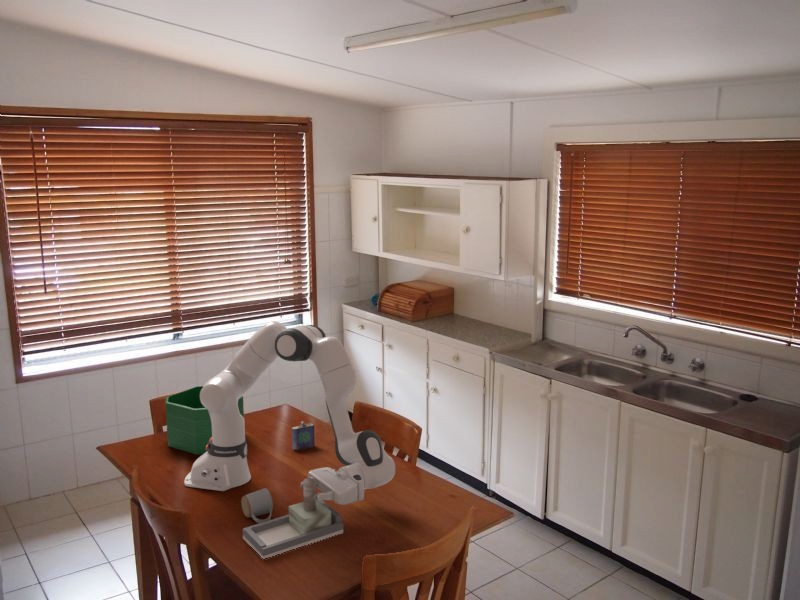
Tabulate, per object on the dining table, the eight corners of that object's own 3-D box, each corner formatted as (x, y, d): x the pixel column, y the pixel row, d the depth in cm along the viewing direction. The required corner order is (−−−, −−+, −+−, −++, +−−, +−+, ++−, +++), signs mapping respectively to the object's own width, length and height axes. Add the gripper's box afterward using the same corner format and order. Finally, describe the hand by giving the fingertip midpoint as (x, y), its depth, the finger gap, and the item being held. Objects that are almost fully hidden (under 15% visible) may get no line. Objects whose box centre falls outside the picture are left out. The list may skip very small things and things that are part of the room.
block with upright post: (304, 537, 204) (303, 490, 201) (289, 523, 212) (288, 478, 209) (331, 528, 209) (330, 482, 206) (315, 514, 217) (314, 471, 214)
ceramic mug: (240, 513, 221) (239, 490, 219) (264, 506, 226) (263, 484, 224) (253, 527, 213) (253, 504, 211) (278, 520, 217) (277, 497, 216)
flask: (293, 451, 269) (293, 424, 268) (290, 448, 272) (290, 422, 270) (315, 446, 274) (315, 420, 272) (312, 444, 277) (312, 418, 275)
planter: (207, 423, 298) (205, 382, 294) (253, 435, 285) (252, 393, 281) (158, 443, 276) (156, 399, 272) (206, 457, 263) (204, 411, 259)
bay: (263, 560, 195) (262, 543, 194) (242, 538, 206) (242, 522, 205) (343, 532, 210) (343, 517, 209) (320, 514, 221) (320, 498, 220)
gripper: (331, 459, 224) (292, 469, 216) (366, 482, 208) (325, 494, 200) (331, 477, 225) (293, 488, 217) (366, 502, 209) (326, 515, 201)
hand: (309, 491), depth 208 cm, fingers open, 8 cm apart
